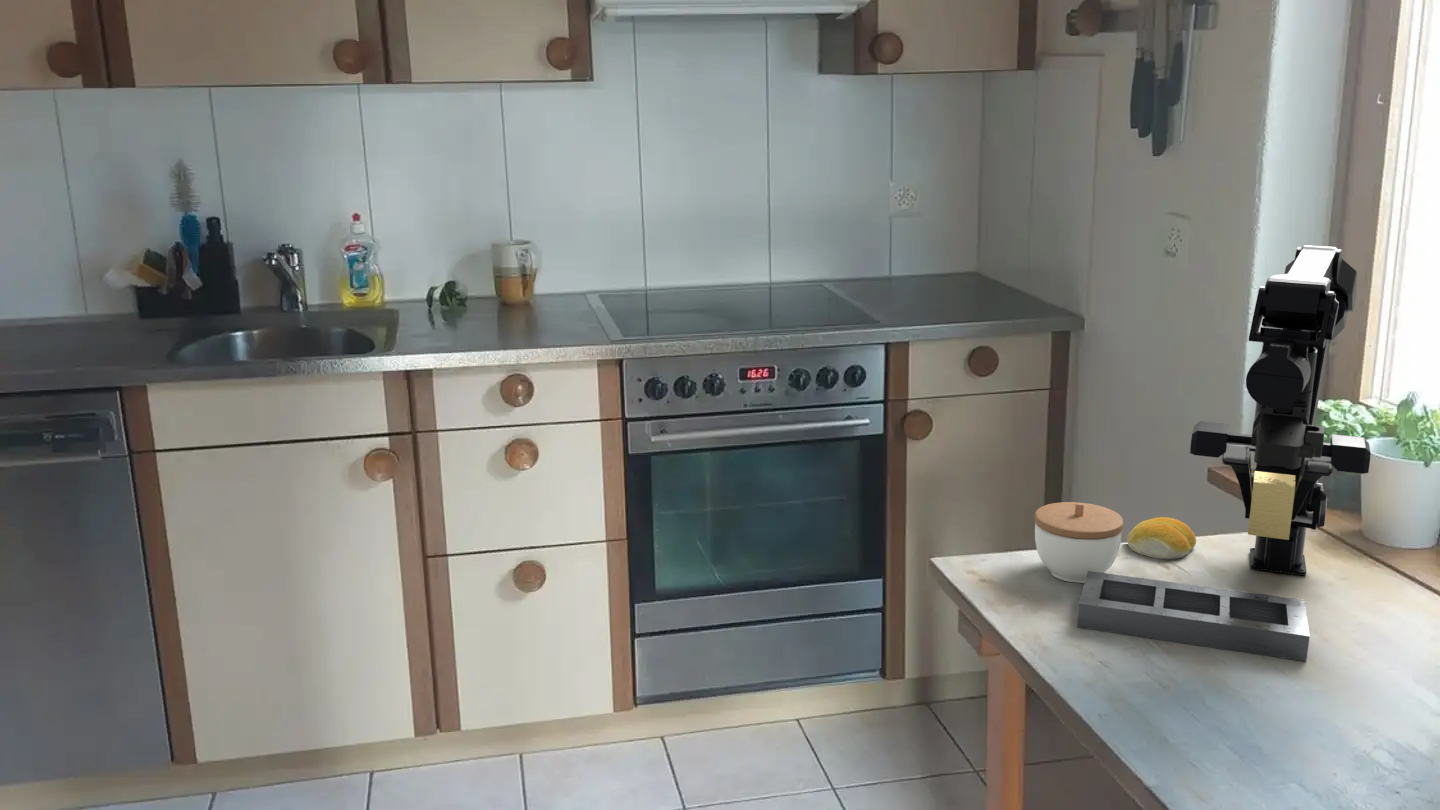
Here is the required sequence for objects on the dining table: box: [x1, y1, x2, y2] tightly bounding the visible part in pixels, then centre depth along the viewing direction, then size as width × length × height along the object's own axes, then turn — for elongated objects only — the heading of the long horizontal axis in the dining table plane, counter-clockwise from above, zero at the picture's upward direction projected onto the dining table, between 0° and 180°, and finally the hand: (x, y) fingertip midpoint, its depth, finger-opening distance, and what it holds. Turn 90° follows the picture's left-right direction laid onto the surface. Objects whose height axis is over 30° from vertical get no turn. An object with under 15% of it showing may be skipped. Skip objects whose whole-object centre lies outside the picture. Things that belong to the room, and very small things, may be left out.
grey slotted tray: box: [1076, 571, 1310, 662], centre depth 142 cm, size 10×24×3 cm, turn 68°
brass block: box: [1247, 470, 1295, 540], centre depth 145 cm, size 4×4×6 cm
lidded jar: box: [1034, 501, 1124, 584], centre depth 156 cm, size 11×11×9 cm
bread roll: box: [1126, 516, 1197, 560], centre depth 165 cm, size 8×9×4 cm
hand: (1270, 516), depth 145 cm, fingers closed on brass block, 4 cm apart
